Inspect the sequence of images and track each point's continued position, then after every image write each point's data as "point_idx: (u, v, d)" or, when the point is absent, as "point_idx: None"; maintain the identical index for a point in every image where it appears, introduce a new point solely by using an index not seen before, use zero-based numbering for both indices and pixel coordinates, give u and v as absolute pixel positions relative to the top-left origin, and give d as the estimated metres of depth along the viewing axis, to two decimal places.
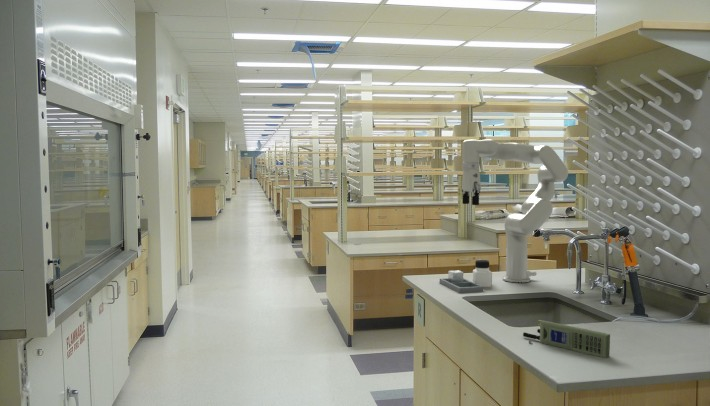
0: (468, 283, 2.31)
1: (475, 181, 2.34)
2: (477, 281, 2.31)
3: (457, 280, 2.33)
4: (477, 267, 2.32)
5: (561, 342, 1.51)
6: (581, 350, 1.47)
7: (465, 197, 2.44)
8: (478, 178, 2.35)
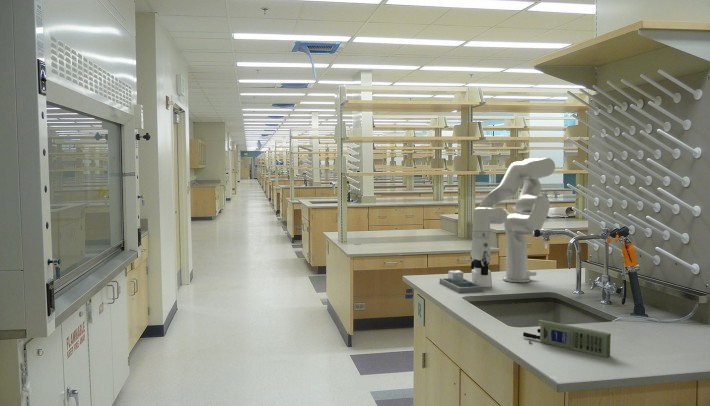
0: (468, 283, 2.31)
1: (485, 251, 2.28)
2: (477, 281, 2.30)
3: (457, 280, 2.33)
4: (476, 267, 2.32)
5: (562, 342, 1.51)
6: (582, 350, 1.47)
7: None
8: (488, 248, 2.29)
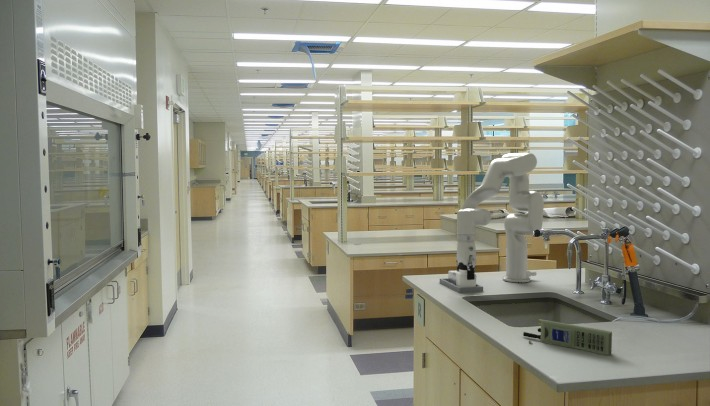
0: None
1: (470, 254, 2.20)
2: (461, 284, 2.22)
3: None
4: (461, 269, 2.24)
5: (563, 341, 1.52)
6: (583, 348, 1.49)
7: None
8: (473, 251, 2.21)
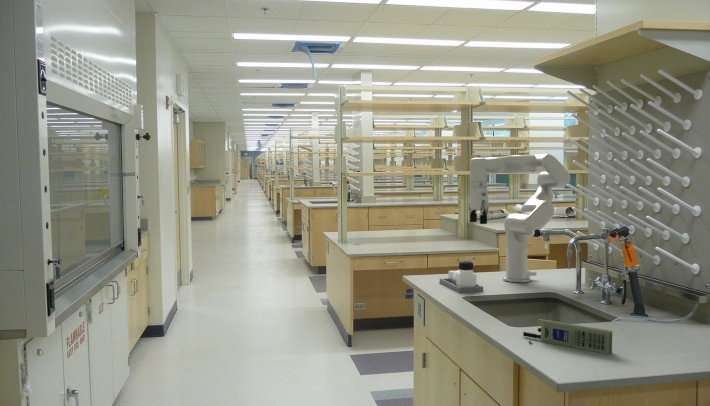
0: None
1: (483, 200, 2.31)
2: (461, 284, 2.22)
3: None
4: (461, 269, 2.24)
5: (564, 340, 1.52)
6: (584, 347, 1.49)
7: (472, 215, 2.41)
8: (486, 197, 2.32)
